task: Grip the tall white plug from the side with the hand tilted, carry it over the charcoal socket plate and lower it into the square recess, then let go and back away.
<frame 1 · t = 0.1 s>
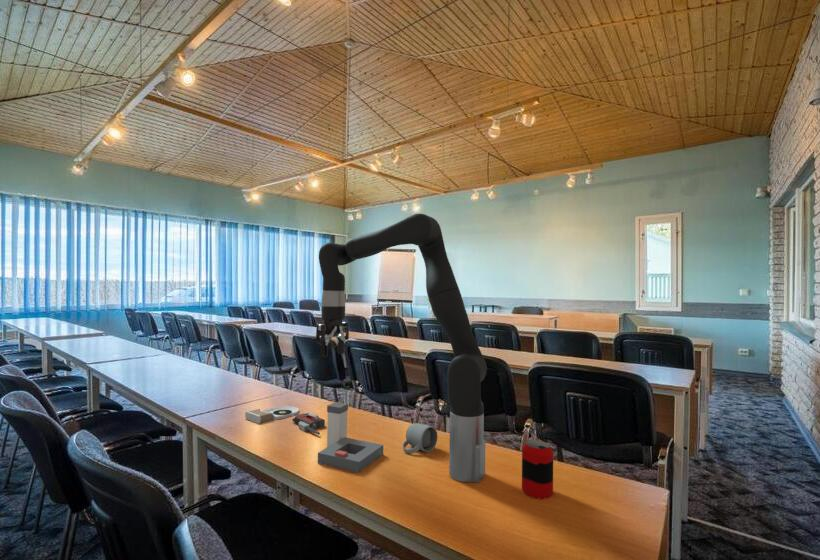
hand: (332, 355, 133), 29 cm above the table, tool pointing down, fingers open, 8 cm apart
soda can: (537, 492, 105), on the table
plug: (337, 445, 134), on the table
record player: (274, 416, 164), on the table
ceramic mug: (418, 450, 131), on the table
walkie-talkie: (311, 428, 150), on the table
socket: (351, 458, 123), on the table
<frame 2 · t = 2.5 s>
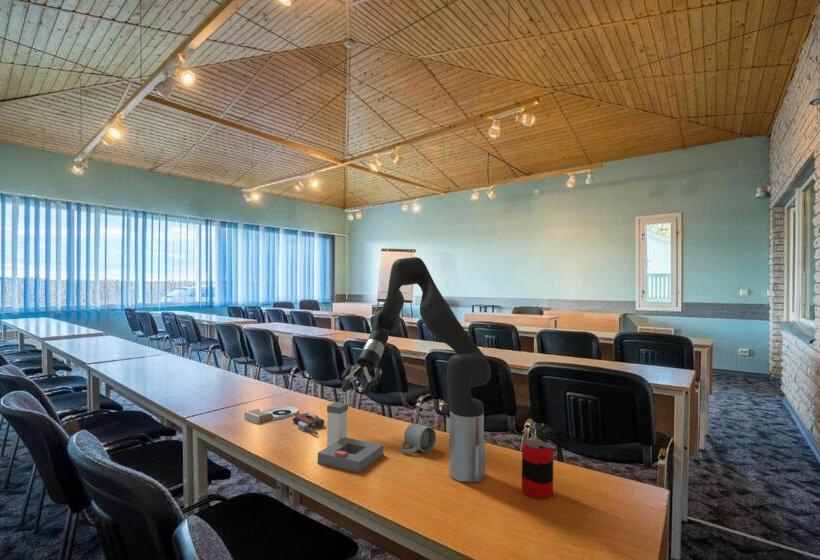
hand: (353, 392, 143), 15 cm above the table, tool tilted 45°, fingers open, 8 cm apart
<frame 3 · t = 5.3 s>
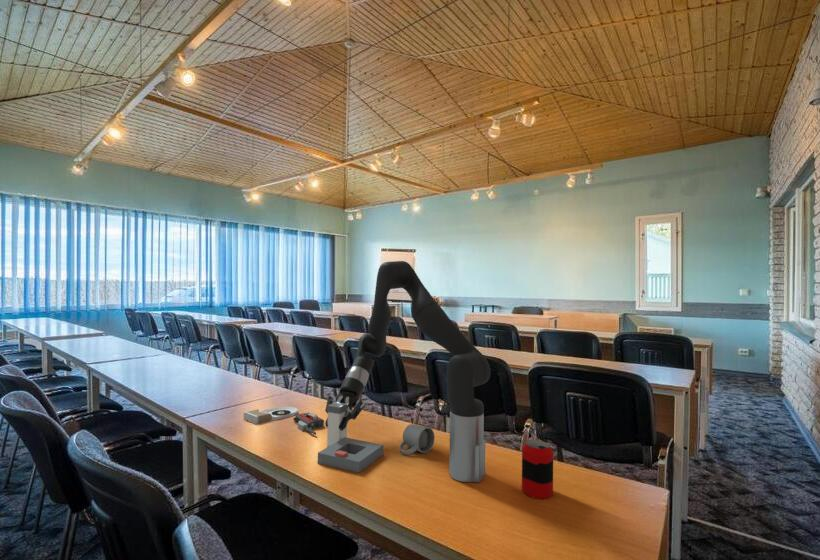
hand: (334, 427, 132), 6 cm above the table, tool tilted 45°, fingers closed on plug, 4 cm apart
plug: (337, 445, 134), on the table, touching gripper
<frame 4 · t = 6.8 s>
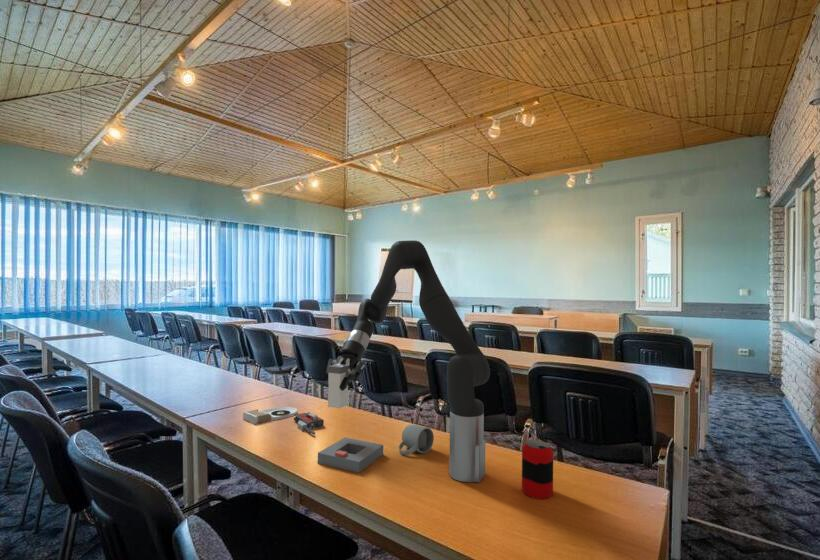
hand: (334, 388, 132), 19 cm above the table, tool tilted 45°, fingers closed on plug, 4 cm apart
plug: (337, 405, 134), point 13 cm above the table, touching gripper
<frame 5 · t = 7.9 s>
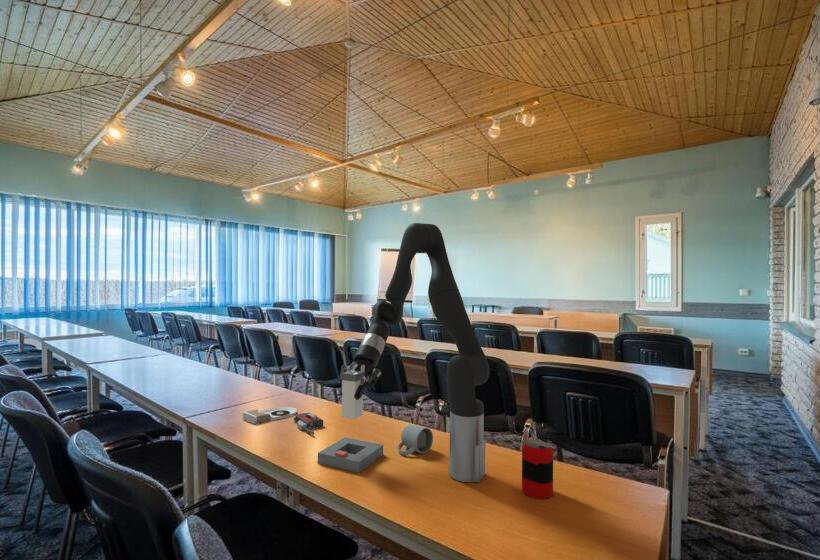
hand: (349, 397, 122), 19 cm above the table, tool tilted 45°, fingers closed on plug, 4 cm apart
plug: (352, 416, 124), point 13 cm above the table, touching gripper
when the fingers open (7 cm above the table, at t = 10.9 s): plug stays where it is, resting in socket.
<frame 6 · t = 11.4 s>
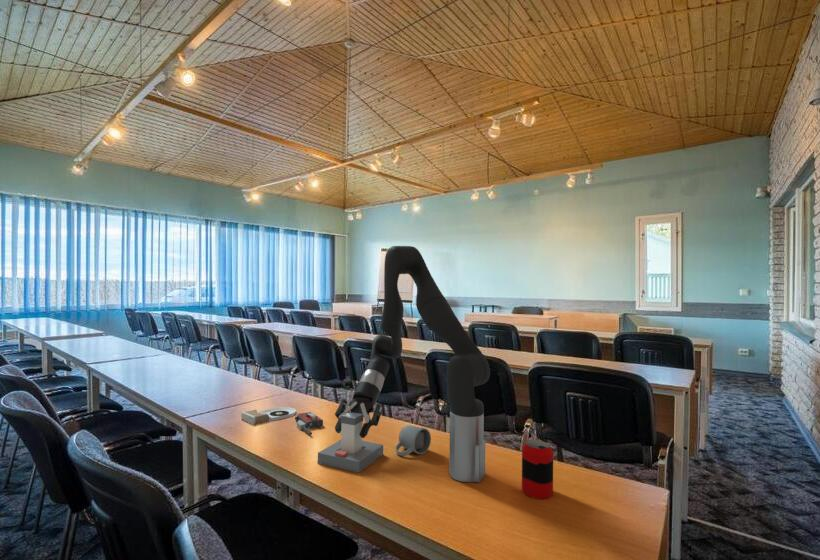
hand: (349, 434, 122), 8 cm above the table, tool tilted 45°, fingers open, 8 cm apart
plug: (351, 458, 123), resting in socket
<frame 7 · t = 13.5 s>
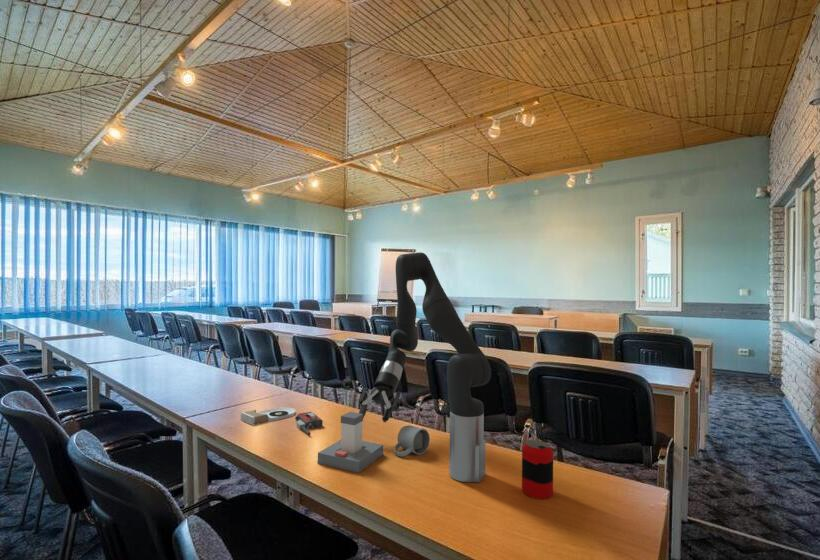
hand: (372, 419, 134), 9 cm above the table, tool tilted 45°, fingers open, 8 cm apart
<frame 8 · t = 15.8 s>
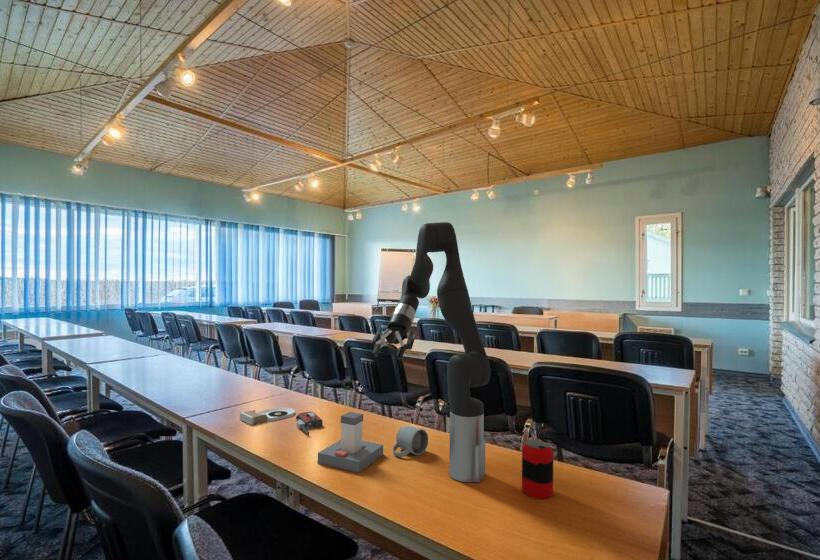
hand: (386, 357, 135), 29 cm above the table, tool tilted 45°, fingers open, 8 cm apart
at the end: plug 0.1 cm off-centre on the socket, point 0.0 cm above the socket's base; plug tilted 0°; the gripper is holding nothing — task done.
